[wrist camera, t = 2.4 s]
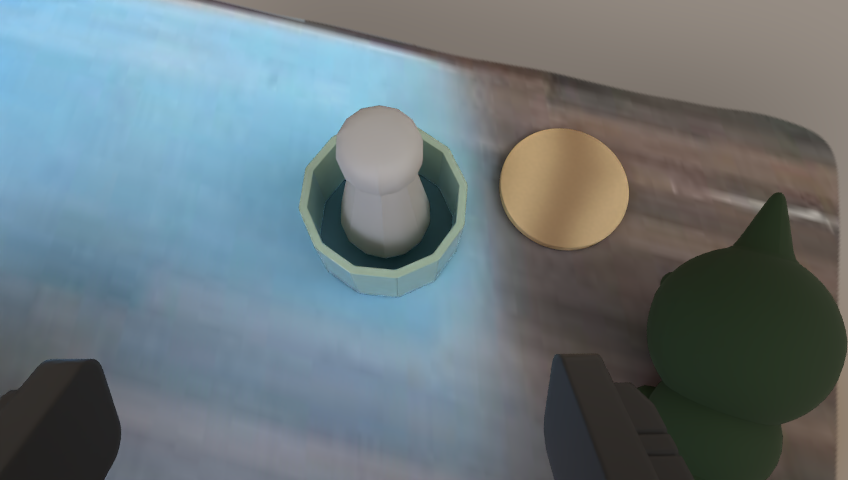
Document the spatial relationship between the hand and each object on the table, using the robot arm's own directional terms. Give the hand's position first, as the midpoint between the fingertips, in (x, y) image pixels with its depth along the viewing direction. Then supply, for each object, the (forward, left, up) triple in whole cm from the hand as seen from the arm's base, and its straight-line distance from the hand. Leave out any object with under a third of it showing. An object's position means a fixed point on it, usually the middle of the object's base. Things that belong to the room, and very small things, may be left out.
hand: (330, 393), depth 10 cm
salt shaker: (-1, +12, -27) cm, 29 cm away
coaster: (+11, +16, -27) cm, 33 cm away
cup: (-1, +12, -27) cm, 29 cm away
